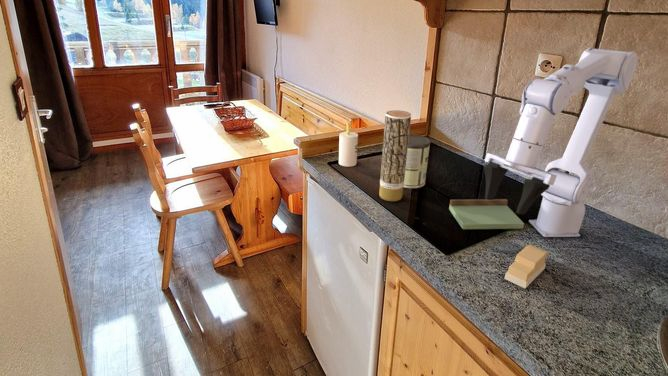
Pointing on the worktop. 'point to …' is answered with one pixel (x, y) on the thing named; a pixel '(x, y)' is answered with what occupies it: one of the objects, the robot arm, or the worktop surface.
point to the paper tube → (394, 154)
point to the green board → (484, 214)
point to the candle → (348, 148)
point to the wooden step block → (526, 266)
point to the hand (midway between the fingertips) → (504, 206)
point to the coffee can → (416, 161)
